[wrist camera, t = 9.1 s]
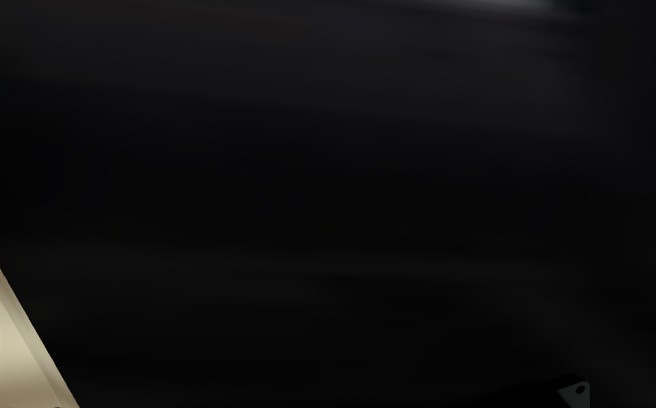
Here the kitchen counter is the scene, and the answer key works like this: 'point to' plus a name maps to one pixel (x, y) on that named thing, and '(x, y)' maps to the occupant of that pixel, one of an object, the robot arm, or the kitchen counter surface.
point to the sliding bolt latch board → (26, 361)
